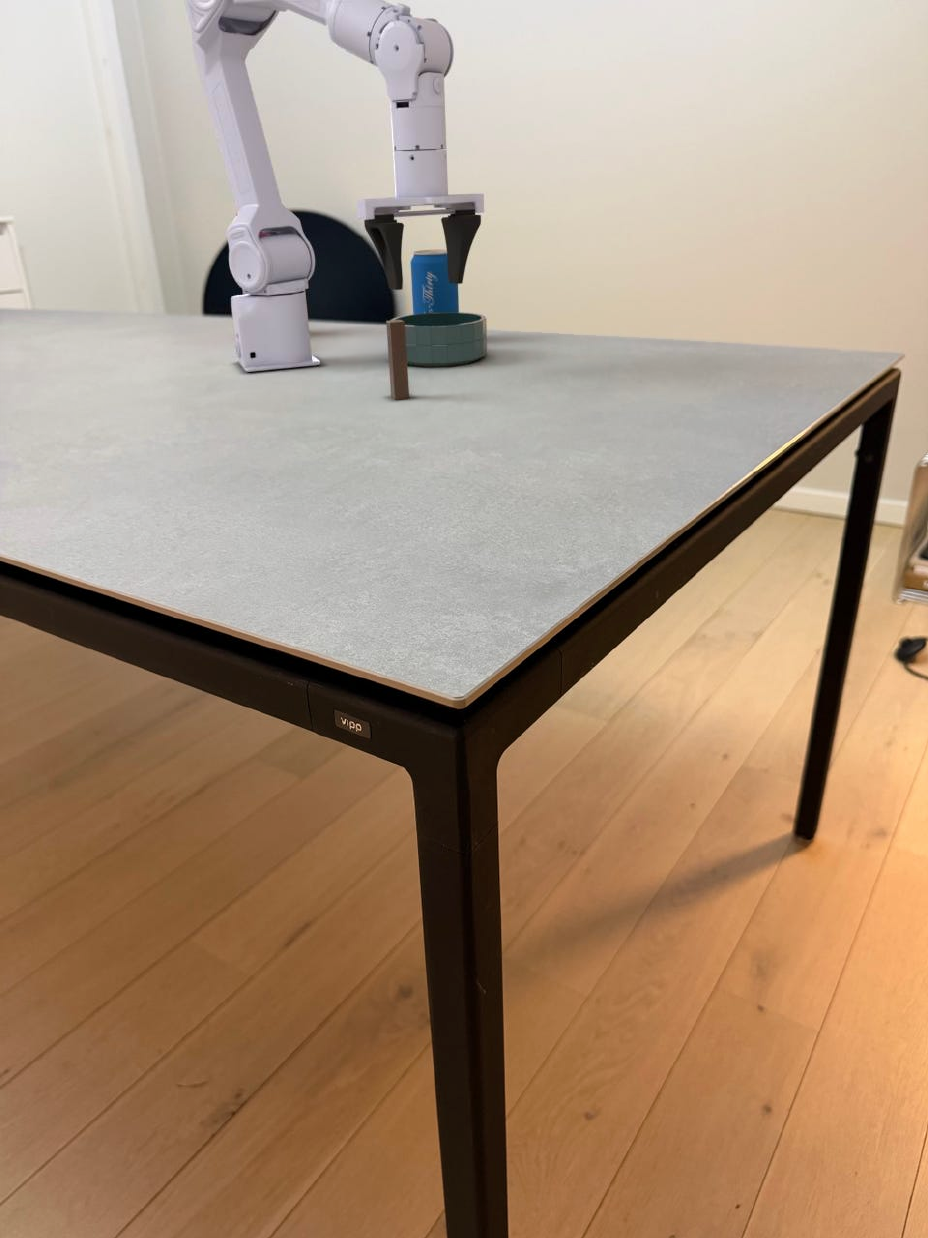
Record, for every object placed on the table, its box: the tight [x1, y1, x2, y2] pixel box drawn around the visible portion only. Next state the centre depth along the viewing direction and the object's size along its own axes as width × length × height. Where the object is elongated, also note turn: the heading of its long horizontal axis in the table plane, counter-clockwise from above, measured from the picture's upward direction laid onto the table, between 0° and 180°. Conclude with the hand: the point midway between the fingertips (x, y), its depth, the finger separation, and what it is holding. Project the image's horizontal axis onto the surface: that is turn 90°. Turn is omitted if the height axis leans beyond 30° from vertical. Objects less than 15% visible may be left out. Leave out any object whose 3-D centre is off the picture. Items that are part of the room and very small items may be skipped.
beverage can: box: [410, 248, 460, 314], centre depth 129 cm, size 6×6×12 cm
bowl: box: [391, 311, 488, 368], centre depth 118 cm, size 12×12×5 cm
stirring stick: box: [385, 319, 410, 401], centre depth 98 cm, size 2×2×8 cm
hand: (426, 285), depth 104 cm, fingers open, 7 cm apart
